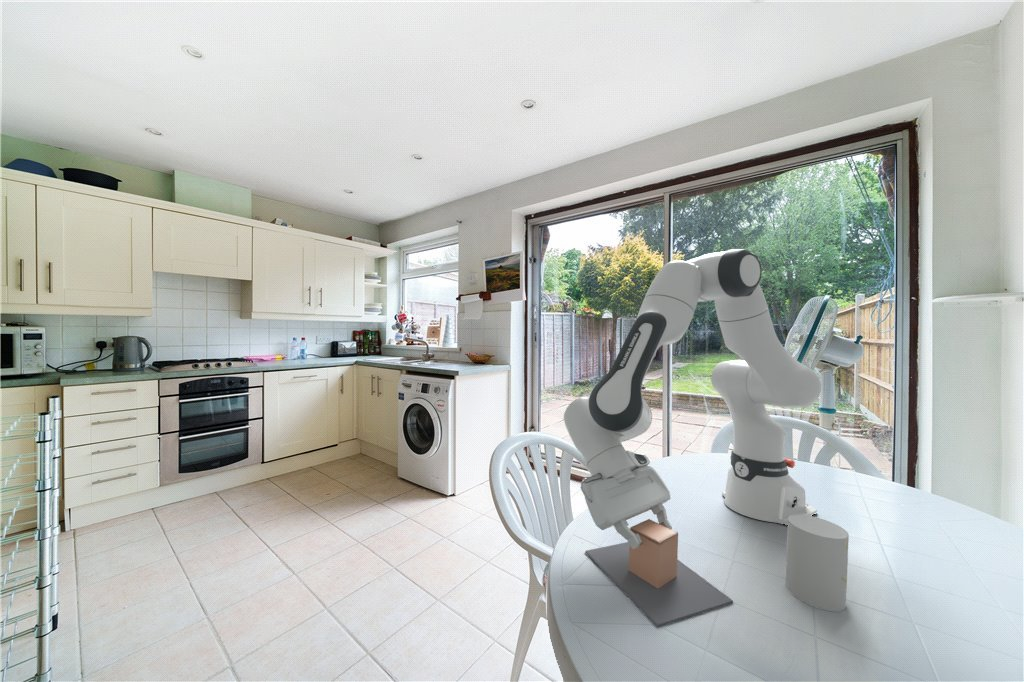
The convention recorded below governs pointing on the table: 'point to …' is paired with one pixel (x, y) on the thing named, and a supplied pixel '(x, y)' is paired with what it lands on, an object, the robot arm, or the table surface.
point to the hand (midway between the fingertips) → (653, 538)
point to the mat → (663, 603)
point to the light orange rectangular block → (654, 553)
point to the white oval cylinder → (817, 562)
